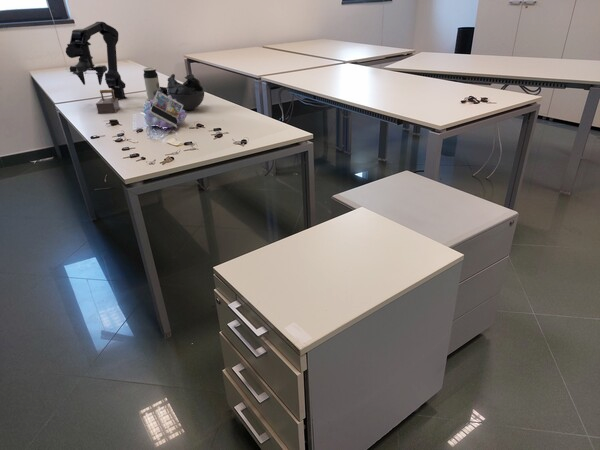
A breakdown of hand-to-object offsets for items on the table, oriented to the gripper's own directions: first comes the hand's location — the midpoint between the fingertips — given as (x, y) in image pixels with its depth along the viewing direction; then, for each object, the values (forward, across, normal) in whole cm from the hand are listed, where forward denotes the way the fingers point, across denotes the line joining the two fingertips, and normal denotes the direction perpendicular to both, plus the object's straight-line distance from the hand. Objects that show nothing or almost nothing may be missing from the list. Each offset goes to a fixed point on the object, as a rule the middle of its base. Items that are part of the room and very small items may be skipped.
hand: (92, 84), depth 234 cm
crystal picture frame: (+12, +53, -34) cm, 64 cm away
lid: (+7, +10, -8) cm, 15 cm away
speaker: (+12, +37, +4) cm, 39 cm away
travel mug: (+13, +27, +19) cm, 35 cm away
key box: (+12, +10, -8) cm, 18 cm away
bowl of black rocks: (+12, +54, -3) cm, 56 cm away
